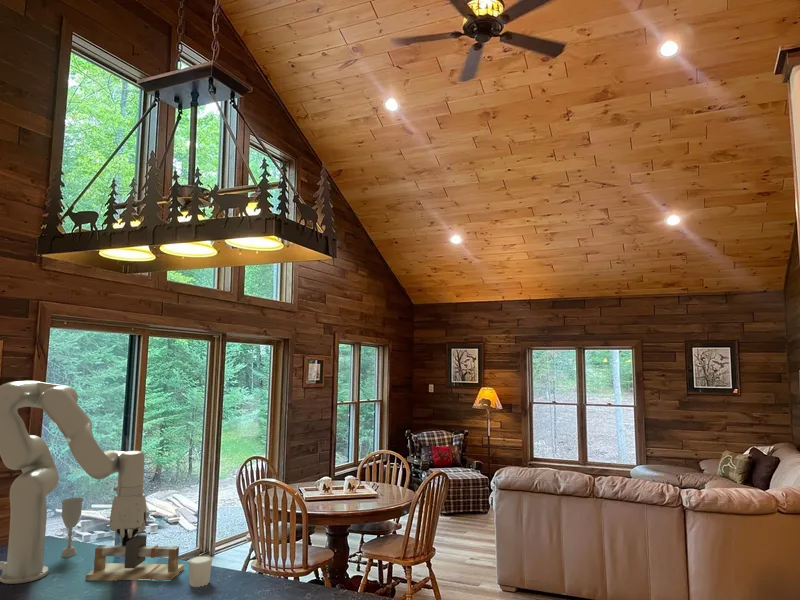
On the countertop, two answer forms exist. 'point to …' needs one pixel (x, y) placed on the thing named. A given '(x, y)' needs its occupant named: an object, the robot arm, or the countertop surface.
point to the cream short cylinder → (199, 570)
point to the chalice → (70, 521)
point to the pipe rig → (142, 570)
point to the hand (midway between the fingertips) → (127, 549)
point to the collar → (134, 551)
